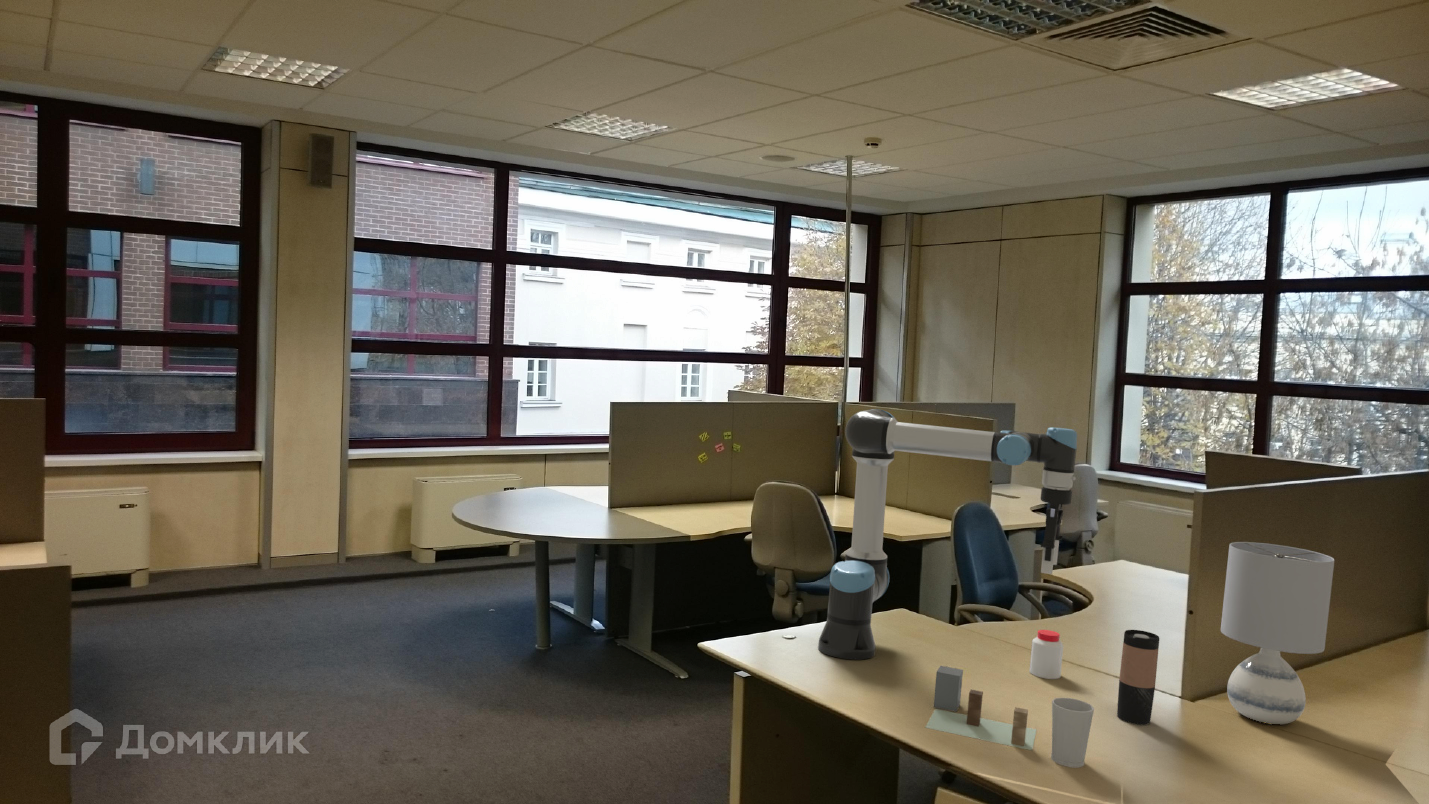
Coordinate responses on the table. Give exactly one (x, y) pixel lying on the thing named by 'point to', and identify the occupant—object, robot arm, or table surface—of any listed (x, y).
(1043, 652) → the pill bottle
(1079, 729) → the cup
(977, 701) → the walnut post
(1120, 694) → the travel mug
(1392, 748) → the table surface
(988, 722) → the board
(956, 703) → the tall gray brick
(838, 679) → the table surface
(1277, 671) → the lamp
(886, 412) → the robot arm
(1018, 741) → the oak post
